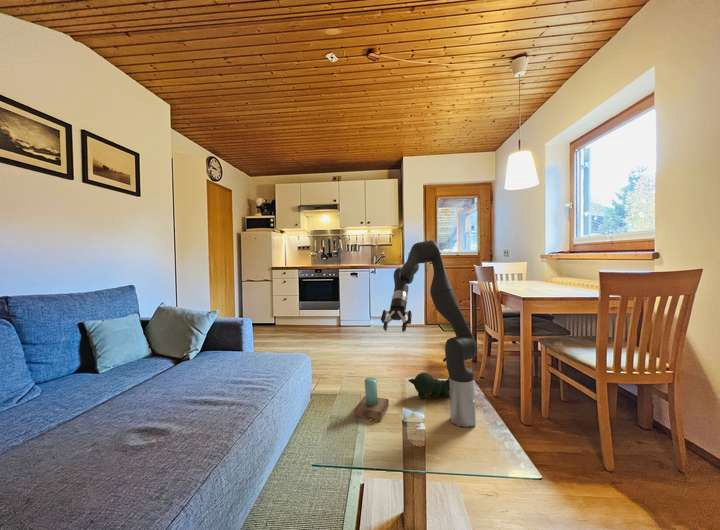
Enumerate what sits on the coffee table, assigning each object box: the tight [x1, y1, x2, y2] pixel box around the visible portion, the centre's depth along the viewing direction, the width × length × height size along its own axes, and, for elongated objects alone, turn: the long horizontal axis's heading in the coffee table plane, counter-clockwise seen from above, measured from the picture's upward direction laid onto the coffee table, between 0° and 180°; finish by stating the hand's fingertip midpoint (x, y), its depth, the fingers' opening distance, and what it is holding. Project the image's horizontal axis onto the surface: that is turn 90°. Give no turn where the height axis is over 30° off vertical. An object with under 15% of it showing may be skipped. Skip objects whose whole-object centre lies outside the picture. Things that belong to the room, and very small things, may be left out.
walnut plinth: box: [354, 395, 390, 422], centre depth 130 cm, size 11×11×4 cm
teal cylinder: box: [364, 377, 379, 406], centre depth 130 cm, size 5×5×10 cm
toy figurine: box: [407, 356, 450, 399], centre depth 142 cm, size 9×19×25 cm
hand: (394, 330), depth 143 cm, fingers open, 8 cm apart
